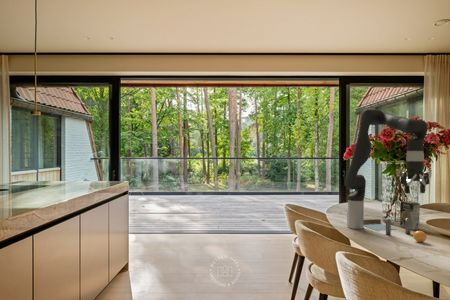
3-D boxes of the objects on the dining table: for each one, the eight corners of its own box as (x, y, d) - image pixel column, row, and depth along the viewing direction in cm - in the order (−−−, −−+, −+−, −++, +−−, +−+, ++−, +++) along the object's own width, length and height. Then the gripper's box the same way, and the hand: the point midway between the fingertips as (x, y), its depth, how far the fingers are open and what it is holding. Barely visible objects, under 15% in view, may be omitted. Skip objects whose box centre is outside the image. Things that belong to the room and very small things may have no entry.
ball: (410, 240, 176) (410, 229, 176) (420, 240, 177) (420, 229, 177) (419, 243, 170) (419, 232, 170) (429, 243, 171) (429, 232, 171)
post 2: (404, 233, 191) (404, 218, 191) (408, 233, 192) (408, 217, 192) (407, 234, 189) (407, 219, 189) (411, 234, 189) (411, 218, 189)
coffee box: (399, 226, 208) (399, 201, 208) (406, 225, 211) (406, 200, 211) (412, 229, 200) (413, 203, 200) (419, 229, 203) (420, 203, 203)
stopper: (354, 223, 216) (354, 219, 216) (378, 222, 219) (378, 218, 219) (356, 224, 214) (356, 220, 214) (380, 223, 217) (380, 219, 217)
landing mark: (362, 225, 211) (362, 224, 211) (381, 224, 214) (381, 224, 214) (376, 230, 197) (376, 230, 197) (396, 229, 200) (396, 229, 200)
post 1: (384, 234, 189) (384, 218, 189) (388, 234, 189) (388, 218, 189) (387, 235, 186) (387, 219, 186) (391, 235, 187) (391, 219, 187)
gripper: (421, 160, 165) (421, 192, 165) (396, 160, 163) (396, 192, 163) (433, 160, 158) (433, 194, 158) (407, 160, 155) (407, 194, 155)
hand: (414, 193), depth 160 cm, fingers open, 8 cm apart
